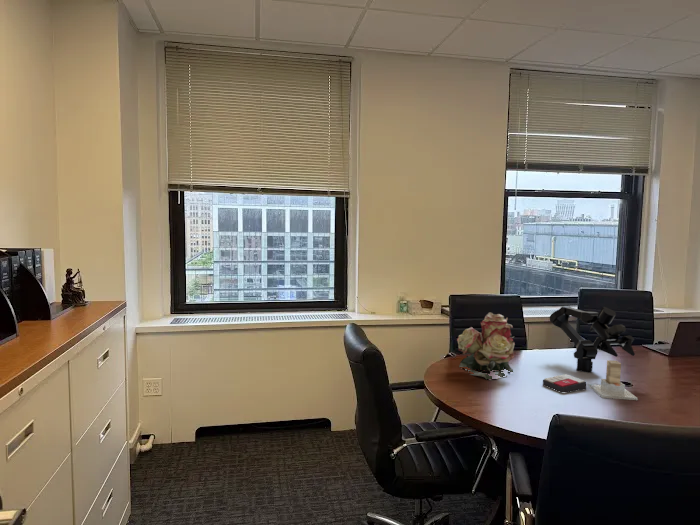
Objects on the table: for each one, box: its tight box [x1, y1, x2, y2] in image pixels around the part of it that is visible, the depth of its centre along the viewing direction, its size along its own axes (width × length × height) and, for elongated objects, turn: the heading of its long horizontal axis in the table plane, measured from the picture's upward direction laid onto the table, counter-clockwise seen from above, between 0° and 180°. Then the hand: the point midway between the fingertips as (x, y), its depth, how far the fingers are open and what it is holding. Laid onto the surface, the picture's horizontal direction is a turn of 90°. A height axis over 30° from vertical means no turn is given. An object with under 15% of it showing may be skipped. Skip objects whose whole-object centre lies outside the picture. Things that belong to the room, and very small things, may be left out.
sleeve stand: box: [588, 378, 639, 401], centre depth 190 cm, size 14×14×6 cm
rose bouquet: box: [456, 312, 516, 380], centre depth 216 cm, size 26×29×30 cm
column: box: [605, 359, 622, 384], centre depth 190 cm, size 4×4×13 cm
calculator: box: [542, 373, 587, 393], centre depth 197 cm, size 11×4×15 cm
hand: (625, 355), depth 197 cm, fingers open, 9 cm apart
